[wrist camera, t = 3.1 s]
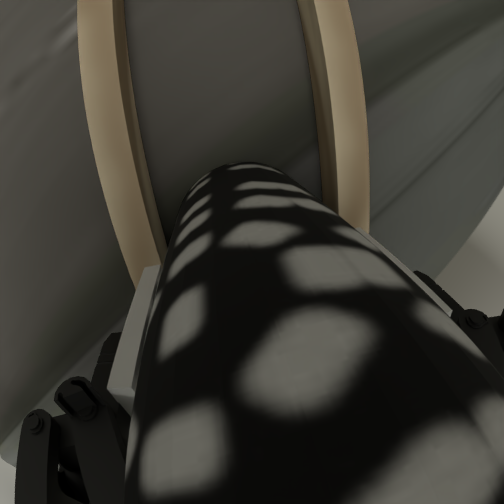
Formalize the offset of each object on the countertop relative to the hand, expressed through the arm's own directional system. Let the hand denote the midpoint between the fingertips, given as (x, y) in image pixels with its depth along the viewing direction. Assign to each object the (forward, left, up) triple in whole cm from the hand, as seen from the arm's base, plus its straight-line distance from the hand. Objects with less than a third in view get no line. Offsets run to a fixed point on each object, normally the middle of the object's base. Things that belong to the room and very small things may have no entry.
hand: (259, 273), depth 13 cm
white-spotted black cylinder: (0, 0, -6) cm, 6 cm away
